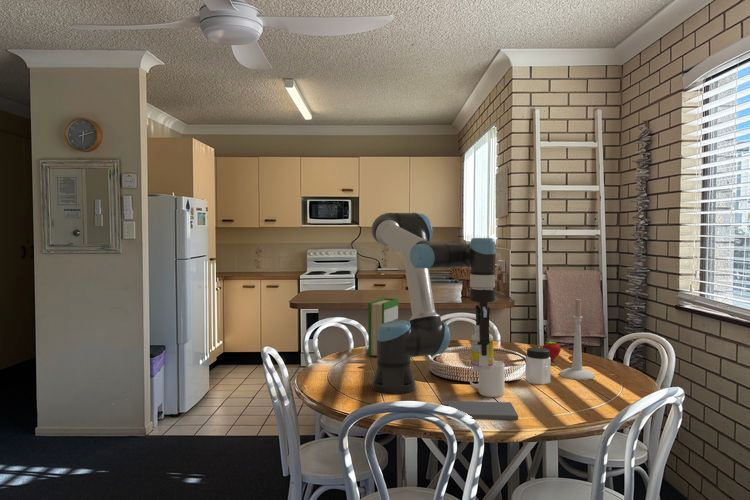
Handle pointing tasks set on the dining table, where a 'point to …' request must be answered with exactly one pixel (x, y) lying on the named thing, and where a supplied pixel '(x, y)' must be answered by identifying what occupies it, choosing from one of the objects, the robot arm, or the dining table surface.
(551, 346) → the strawberry
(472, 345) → the supplement bottle
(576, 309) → the candlestick
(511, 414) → the mat
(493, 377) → the mug
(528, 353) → the jar
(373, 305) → the hardback book
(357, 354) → the dining table surface
